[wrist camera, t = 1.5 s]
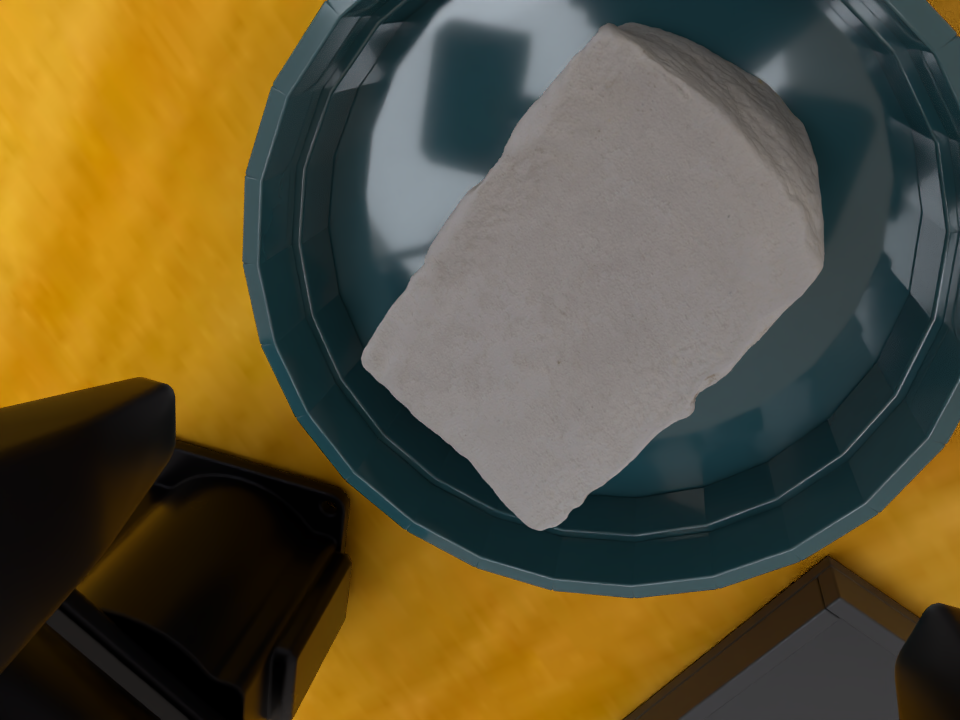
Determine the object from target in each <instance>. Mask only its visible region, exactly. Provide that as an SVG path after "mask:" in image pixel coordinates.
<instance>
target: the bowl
mask: <svg viewBox="0 0 960 720" xmlns="http://www.w3.org/2000/svg"><path fill="white" fill-rule="evenodd" d="M607 23H611V24H614V25H616V26H617V27H618V26H620V25H623V24H625V23H638V24H642V25H646V26H649V27H652V28H660V29H662V30H663V31H666V32H671V33H673V34H676V35H678V36H681V37H684V38H687V39H689V40H690V41H693V42H695V43H696V44H698V45H701V46H704V47H705V48H707V49H708V50H710V51H711V52H712V53H714V54H717V55H718V56H720V57H721V58H723V59H724V60H727V61H729V62H731V63H733V64H734V65H736V66H737V67H739V68H741V69H742V70H744V71H745V72H747V73H749V74H751V75H753V76H755V77H757V78H759V79H761V80H762V81H764V82H765V83H766V84H767V85H769V86H770V87H771V88H772V90H773V91H775V92H776V93H777V94H778V95H779V96H780V97H781V99H782V100H783V102H784V103H785V104H786V106H787V107H788V108H789V109H790V111H791V112H792V113H793V114H794V115H795V116H796V117H797V118H798V119H799V120H800V121H801V122H802V123H803V125H804V127H805V130H806V132H807V134H808V137H809V140H810V142H811V145H812V149H813V153H814V155H815V158H816V162H817V165H818V178H819V187H820V193H821V204H822V205H821V206H822V214H823V220H824V253H825V255H824V264H823V268H822V270H821V272H820V273H819V275H818V276H817V278H816V279H815V281H814V282H813V283H812V284H811V285H810V286H809V287H808V289H807V290H806V291H805V292H804V294H803V295H802V296H801V297H799V298H798V299H797V300H796V301H795V302H794V303H793V304H792V305H791V306H790V307H788V308H787V309H786V310H785V311H784V312H783V313H782V314H781V316H780V317H779V318H778V319H777V320H776V321H775V322H774V323H773V325H772V326H771V327H770V328H769V329H768V331H767V332H766V333H765V334H764V335H763V336H762V337H761V338H760V340H759V341H757V342H756V343H755V344H754V345H753V346H751V347H750V348H749V349H748V350H747V352H746V353H745V354H744V355H743V356H742V358H741V359H740V360H739V361H738V362H737V364H736V365H735V366H734V367H733V369H732V370H731V371H730V372H729V373H728V374H727V375H726V376H724V377H723V378H721V379H720V380H719V381H717V383H715V384H713V385H711V386H709V387H707V388H705V389H704V390H703V391H701V392H700V393H699V394H698V395H697V397H696V398H695V400H696V401H695V409H694V412H693V413H692V414H691V415H690V416H688V417H687V418H684V419H681V420H678V421H677V422H674V423H673V424H671V425H670V426H668V427H667V428H665V429H663V430H662V431H661V432H660V433H658V434H657V435H656V436H655V437H654V438H653V439H652V440H651V441H650V442H649V443H648V444H647V445H646V446H645V447H644V449H643V450H642V451H641V452H640V453H639V454H638V455H637V457H636V458H635V459H634V460H632V461H631V462H630V463H629V464H628V465H627V466H626V467H625V468H624V469H622V470H621V471H620V472H619V473H618V474H617V475H616V476H614V477H613V478H611V479H610V480H609V481H607V482H606V483H605V484H604V485H603V486H601V487H599V488H597V489H596V490H594V491H592V492H590V493H589V494H588V495H587V497H586V499H585V500H584V502H583V504H582V505H580V506H579V507H577V508H574V509H572V511H571V512H570V513H569V514H568V517H567V519H565V520H564V521H563V522H562V523H561V524H559V525H557V526H556V527H552V528H547V529H545V530H542V531H538V530H535V529H532V528H530V527H528V526H527V525H526V524H524V523H523V522H522V521H521V520H520V519H519V518H518V517H517V516H516V515H515V514H514V513H513V512H512V511H511V510H510V509H509V508H508V507H507V506H506V505H505V504H504V503H503V502H502V501H501V500H500V498H499V497H498V496H497V494H496V493H495V492H494V490H493V489H492V488H491V487H490V485H489V484H488V483H487V482H486V481H485V480H484V479H483V478H482V477H481V475H480V474H479V472H478V471H477V470H476V469H475V467H474V466H473V465H472V463H471V462H470V461H469V460H468V459H467V458H465V457H464V456H462V455H460V454H459V453H458V452H457V451H456V450H455V449H454V448H453V447H452V446H451V445H450V444H448V443H447V442H446V441H444V440H443V439H442V438H441V437H440V436H439V435H438V434H436V433H435V432H433V431H432V430H431V429H430V428H428V427H427V426H425V425H424V424H423V423H422V422H420V421H419V420H418V419H417V418H416V417H414V416H413V415H412V414H411V412H410V411H409V409H408V408H407V407H406V406H404V405H403V404H402V403H401V402H399V401H398V400H397V399H396V398H395V397H394V396H393V395H392V394H391V393H390V391H389V390H388V389H387V388H386V387H385V386H384V385H382V384H381V383H379V382H378V381H377V380H376V379H375V378H374V377H373V376H372V374H371V373H369V372H368V371H367V370H366V369H365V368H364V367H363V365H362V361H361V357H362V353H363V351H364V348H365V347H366V346H367V344H368V342H369V340H370V339H371V338H372V336H373V334H374V333H375V331H376V329H377V327H378V326H379V324H380V323H381V322H382V320H383V319H384V317H385V315H386V314H387V312H388V310H389V309H390V308H391V306H392V305H393V304H394V303H395V301H396V300H397V299H398V298H399V296H400V295H401V294H402V293H403V292H404V291H405V290H406V288H407V286H408V283H409V282H410V278H411V277H412V276H413V275H414V274H415V273H416V272H417V271H418V270H419V269H420V268H421V267H422V266H423V265H424V264H425V257H426V255H427V252H428V250H429V248H430V246H431V244H432V242H433V241H434V240H435V238H436V236H437V235H438V233H439V231H440V230H441V228H442V227H443V226H444V224H445V222H446V221H447V220H448V218H449V217H450V215H451V214H452V212H453V211H454V210H455V209H456V207H457V205H458V204H459V203H460V201H461V200H462V199H463V198H464V196H465V195H466V194H467V192H468V191H469V190H471V189H472V188H473V187H475V186H476V185H478V183H480V182H481V181H483V180H484V179H485V177H486V176H487V174H488V172H489V170H490V169H491V168H493V167H494V166H495V164H496V163H497V162H498V160H499V159H500V158H501V156H502V154H503V152H504V148H505V146H506V144H507V142H508V140H509V138H510V137H511V134H512V132H513V130H514V128H515V127H516V125H517V124H518V123H519V121H520V119H521V118H522V117H523V116H524V114H525V113H526V112H527V111H528V109H529V108H530V107H531V106H532V105H533V103H534V102H535V101H537V100H538V99H539V98H540V97H541V96H542V95H543V93H544V92H545V91H546V90H547V88H548V87H549V86H550V85H551V84H552V83H553V81H554V80H555V79H556V78H557V76H558V75H559V74H560V73H561V72H562V71H563V70H564V69H565V67H566V66H567V65H568V63H569V62H570V60H571V59H572V58H573V57H574V56H575V55H576V54H578V53H579V52H580V51H581V50H583V49H584V48H585V47H586V45H587V44H588V43H589V42H590V41H591V39H592V38H593V37H594V36H595V35H596V34H597V33H598V31H599V28H600V27H602V26H603V25H606V24H607ZM242 261H243V268H244V272H245V277H246V281H247V286H248V291H249V295H250V300H251V304H252V309H253V313H254V318H255V322H256V327H257V331H258V336H259V340H260V344H262V345H261V347H262V349H263V351H264V353H265V355H266V357H267V359H268V362H269V364H270V366H271V368H272V370H273V372H274V374H275V376H276V378H277V380H278V382H279V384H280V386H281V388H282V391H283V393H284V395H285V397H286V399H287V401H288V403H289V405H290V407H291V409H292V411H293V413H294V415H295V417H297V420H298V421H299V423H300V424H301V425H302V427H303V428H304V429H305V430H306V432H307V433H308V434H309V435H310V437H311V438H312V439H313V440H314V442H315V443H316V444H317V445H318V447H319V448H320V449H321V451H322V452H323V453H324V454H325V456H326V457H327V458H328V459H329V461H330V462H331V463H332V464H333V466H334V467H335V468H336V469H337V471H338V472H339V473H340V475H341V476H342V477H343V478H344V479H346V481H347V482H348V483H349V484H350V485H351V486H353V487H354V488H355V489H356V490H357V491H359V492H360V493H361V494H362V495H363V496H365V497H366V498H367V499H368V500H369V501H371V502H372V503H373V504H374V505H376V506H377V507H378V508H379V509H380V510H382V511H383V512H384V513H385V514H386V515H388V516H389V517H390V518H391V519H392V520H394V521H395V522H396V523H397V524H398V525H400V526H401V527H402V528H403V529H405V530H406V529H407V531H408V532H409V533H411V534H413V535H415V536H417V537H419V538H421V539H423V540H424V541H426V542H428V543H430V544H432V545H434V546H436V547H438V548H439V549H441V550H443V551H445V552H447V553H449V554H451V555H453V556H454V557H456V558H458V559H460V560H462V561H464V562H466V563H468V564H469V565H471V566H473V567H476V568H478V569H481V570H485V571H488V572H491V573H495V574H498V575H501V576H505V577H508V578H511V579H515V580H518V581H521V582H525V583H528V584H531V585H535V586H538V587H541V588H545V589H548V590H552V589H553V591H560V592H571V593H581V594H592V595H603V596H614V597H625V598H634V597H635V598H642V597H651V596H660V595H669V594H678V593H687V592H696V591H705V590H714V589H717V588H723V587H726V586H729V585H732V584H735V583H738V582H741V581H744V580H747V579H750V578H753V577H756V576H759V575H762V574H765V573H768V572H771V571H774V570H777V569H779V568H782V567H785V566H788V565H791V564H794V563H797V562H800V561H801V560H804V559H806V558H807V557H809V556H811V555H812V554H814V553H815V552H817V551H819V550H820V549H822V548H824V547H825V546H827V545H829V544H830V543H832V542H833V541H835V540H837V539H838V538H840V537H842V536H843V535H845V534H846V533H848V532H850V531H851V530H853V529H855V528H856V527H858V526H860V525H861V524H863V523H864V522H866V521H868V520H869V519H871V518H873V517H874V516H876V515H877V514H878V512H881V511H882V510H883V509H884V508H885V507H886V506H887V505H888V504H889V503H890V502H891V501H892V500H893V499H894V498H895V497H896V496H897V495H898V494H899V493H900V492H901V491H902V490H903V489H904V488H905V487H906V486H907V485H908V484H909V483H910V482H911V481H912V480H913V478H914V477H915V476H916V475H917V474H918V473H919V472H920V471H921V470H922V469H923V468H924V467H925V466H926V465H927V464H928V463H929V462H930V461H931V460H932V459H933V458H934V457H935V456H936V455H937V454H938V453H939V452H940V451H941V450H942V449H943V448H944V447H945V444H947V443H948V441H949V439H950V438H951V436H952V434H953V432H954V430H955V429H956V427H957V425H958V423H959V421H960V37H959V36H957V33H956V31H955V30H954V29H953V28H952V27H951V26H950V25H949V24H948V23H947V21H946V20H945V19H944V18H943V17H942V16H941V15H940V14H939V13H938V12H937V11H936V10H935V9H934V8H933V7H932V6H931V4H930V3H929V2H928V1H927V0H326V1H325V2H324V3H323V5H322V6H321V8H320V10H319V11H318V13H317V14H316V16H315V17H314V19H313V21H312V22H311V24H310V25H309V27H308V28H307V30H306V32H305V33H304V35H303V36H302V38H301V40H300V41H299V43H298V44H297V46H296V47H295V49H294V51H293V52H292V54H291V55H290V57H289V59H288V60H287V62H286V63H285V65H284V66H283V68H282V70H281V71H280V73H279V74H278V76H277V78H276V79H275V81H274V82H273V86H272V87H271V90H270V93H269V96H268V100H267V103H266V107H265V110H264V113H263V117H262V120H261V123H260V127H259V130H258V133H257V137H256V140H255V143H254V147H253V150H252V153H251V157H250V160H249V163H248V167H247V170H246V176H245V193H244V227H243V260H242Z"/></svg>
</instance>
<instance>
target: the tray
mask: <svg viewBox="0 0 960 720" xmlns="http://www.w3.org/2000/svg"><path fill="white" fill-rule="evenodd" d="M919 619H920V618H918V617H917V616H915V615H914V614H913V613H911V612H910V611H908V610H907V609H905V608H904V607H902V606H901V605H899V604H898V603H897V602H895V601H894V600H892V599H891V598H889V597H888V596H886V595H885V594H883V593H882V592H880V591H879V590H878V589H876V588H875V587H873V586H872V585H870V584H869V583H867V582H866V581H864V580H863V579H861V578H860V577H859V576H857V575H856V574H854V573H853V572H851V571H850V570H848V569H847V568H845V567H844V566H842V565H841V564H840V563H838V562H837V561H835V560H834V559H832V558H831V557H829V556H827V557H826V558H825V559H823V560H822V561H821V562H820V563H818V564H817V565H816V566H815V567H813V568H812V569H811V570H810V571H808V572H807V573H806V574H805V575H803V576H802V577H801V578H800V579H798V580H797V581H796V582H795V583H793V584H792V585H791V586H790V587H788V588H787V589H786V590H785V591H783V592H782V593H781V594H780V595H779V596H777V597H776V598H775V599H774V600H772V601H771V602H770V603H769V604H767V605H766V606H765V607H764V608H762V609H761V610H760V611H759V612H757V613H756V614H755V615H754V616H752V617H751V618H750V619H749V620H747V621H746V622H745V623H744V624H742V625H741V626H740V627H739V628H737V629H736V630H735V631H734V632H732V633H731V634H730V635H729V636H727V637H726V638H725V639H724V640H722V641H721V642H720V643H719V644H717V645H716V646H715V647H714V648H712V649H711V650H710V651H709V652H707V653H706V654H705V655H704V656H702V657H701V658H700V659H699V660H697V661H696V662H695V663H694V664H692V665H691V666H690V667H689V668H687V669H686V670H685V671H684V672H682V673H681V674H680V675H679V676H677V677H676V678H675V679H674V680H672V681H671V682H670V683H669V684H667V685H666V686H665V687H664V688H662V689H661V690H660V691H659V692H657V693H656V694H655V695H654V696H653V697H651V698H650V699H649V700H648V701H646V702H645V703H644V704H643V705H641V706H640V707H639V708H638V709H636V710H635V711H634V712H633V713H631V714H630V715H629V716H628V717H626V718H625V719H624V720H899V713H898V704H897V694H896V685H895V664H896V660H897V657H898V654H899V652H900V650H901V649H902V647H903V645H904V644H905V642H906V640H907V639H908V637H909V636H910V634H911V632H912V631H913V629H914V627H915V626H916V624H917V623H918V621H919Z"/></svg>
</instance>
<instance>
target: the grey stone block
mask: <svg viewBox="0 0 960 720" xmlns="http://www.w3.org/2000/svg"><path fill="white" fill-rule="evenodd" d="M821 205H822V204H821V193H820V187H819V178H818V165H817V162H816V158H815V155H814V153H813V149H812V145H811V142H810V140H809V137H808V134H807V132H806V130H805V127H804V125H803V123H802V122H801V121H800V120H799V119H798V118H797V117H796V116H795V115H794V114H793V113H792V112H791V111H790V109H789V108H788V107H787V106H786V104H785V103H784V102H783V100H782V99H781V97H780V96H779V95H778V94H777V93H776V92H775V91H773V90H772V88H771V87H770V86H769V85H767V84H766V83H765V82H764V81H762V80H761V79H759V78H757V77H755V76H753V75H751V74H749V73H747V72H745V71H744V70H742V69H741V68H739V67H737V66H736V65H734V64H733V63H731V62H729V61H727V60H724V59H723V58H721V57H720V56H718V55H717V54H714V53H712V52H711V51H710V50H708V49H707V48H705V47H704V46H701V45H698V44H696V43H695V42H693V41H690V40H689V39H687V38H684V37H681V36H678V35H676V34H673V33H671V32H666V31H663V30H662V29H660V28H652V27H649V26H646V25H642V24H638V23H625V24H623V25H620V26H618V27H617V26H616V25H614V24H611V23H607V24H606V25H603V26H602V27H600V28H599V31H598V33H597V34H596V35H595V36H594V37H593V38H592V39H591V41H590V42H589V43H588V44H587V45H586V47H585V48H584V49H583V50H581V51H580V52H579V53H578V54H576V55H575V56H574V57H573V58H572V59H571V60H570V62H569V63H568V65H567V66H566V67H565V69H564V70H563V71H562V72H561V73H560V74H559V75H558V76H557V78H556V79H555V80H554V81H553V83H552V84H551V85H550V86H549V87H548V88H547V90H546V91H545V92H544V93H543V95H542V96H541V97H540V98H539V99H538V100H537V101H535V102H534V103H533V105H532V106H531V107H530V108H529V109H528V111H527V112H526V113H525V114H524V116H523V117H522V118H521V119H520V121H519V123H518V124H517V125H516V127H515V128H514V130H513V132H512V134H511V137H510V138H509V140H508V142H507V144H506V146H505V148H504V152H503V154H502V156H501V158H500V159H499V160H498V162H497V163H496V164H495V166H494V167H493V168H491V169H490V170H489V172H488V174H487V176H486V177H485V179H484V180H483V181H481V182H480V183H478V185H476V186H475V187H473V188H472V189H471V190H469V191H468V192H467V194H466V195H465V196H464V198H463V199H462V200H461V201H460V203H459V204H458V205H457V207H456V209H455V210H454V211H453V212H452V214H451V215H450V217H449V218H448V220H447V221H446V222H445V224H444V226H443V227H442V228H441V230H440V231H439V233H438V235H437V236H436V238H435V240H434V241H433V242H432V244H431V246H430V248H429V250H428V252H427V255H426V257H425V264H424V265H423V266H422V267H421V268H420V269H419V270H418V271H417V272H416V273H415V274H414V275H413V276H412V277H411V278H410V282H409V283H408V286H407V288H406V290H405V291H404V292H403V293H402V294H401V295H400V296H399V298H398V299H397V300H396V301H395V303H394V304H393V305H392V306H391V308H390V309H389V310H388V312H387V314H386V315H385V317H384V319H383V320H382V322H381V323H380V324H379V326H378V327H377V329H376V331H375V333H374V334H373V336H372V338H371V339H370V340H369V342H368V344H367V346H366V347H365V348H364V351H363V353H362V357H361V361H362V365H363V367H364V368H365V369H366V370H367V371H368V372H369V373H371V374H372V376H373V377H374V378H375V379H376V380H377V381H378V382H379V383H381V384H382V385H384V386H385V387H386V388H387V389H388V390H389V391H390V393H391V394H392V395H393V396H394V397H395V398H396V399H397V400H398V401H399V402H401V403H402V404H403V405H404V406H406V407H407V408H408V409H409V411H410V412H411V414H412V415H413V416H414V417H416V418H417V419H418V420H419V421H420V422H422V423H423V424H424V425H425V426H427V427H428V428H430V429H431V430H432V431H433V432H435V433H436V434H438V435H439V436H440V437H441V438H442V439H443V440H444V441H446V442H447V443H448V444H450V445H451V446H452V447H453V448H454V449H455V450H456V451H457V452H458V453H459V454H460V455H462V456H464V457H465V458H467V459H468V460H469V461H470V462H471V463H472V465H473V466H474V467H475V469H476V470H477V471H478V472H479V474H480V475H481V477H482V478H483V479H484V480H485V481H486V482H487V483H488V484H489V485H490V487H491V488H492V489H493V490H494V492H495V493H496V494H497V496H498V497H499V498H500V500H501V501H502V502H503V503H504V504H505V505H506V506H507V507H508V508H509V509H510V510H511V511H512V512H513V513H514V514H515V515H516V516H517V517H518V518H519V519H520V520H521V521H522V522H523V523H524V524H526V525H527V526H528V527H530V528H532V529H535V530H538V531H542V530H545V529H547V528H552V527H556V526H557V525H559V524H561V523H562V522H563V521H564V520H565V519H567V517H568V514H569V513H570V512H571V511H572V509H574V508H577V507H579V506H580V505H582V504H583V502H584V500H585V499H586V497H587V495H588V494H589V493H590V492H592V491H594V490H596V489H597V488H599V487H601V486H603V485H604V484H605V483H606V482H607V481H609V480H610V479H611V478H613V477H614V476H616V475H617V474H618V473H619V472H620V471H621V470H622V469H624V468H625V467H626V466H627V465H628V464H629V463H630V462H631V461H632V460H634V459H635V458H636V457H637V455H638V454H639V453H640V452H641V451H642V450H643V449H644V447H645V446H646V445H647V444H648V443H649V442H650V441H651V440H652V439H653V438H654V437H655V436H656V435H657V434H658V433H660V432H661V431H662V430H663V429H665V428H667V427H668V426H670V425H671V424H673V423H674V422H677V421H678V420H681V419H684V418H687V417H688V416H690V415H691V414H692V413H693V412H694V409H695V401H696V400H695V398H696V397H697V395H698V394H699V393H700V392H701V391H703V390H704V389H705V388H707V387H709V386H711V385H713V384H715V383H717V381H719V380H720V379H721V378H723V377H724V376H726V375H727V374H728V373H729V372H730V371H731V370H732V369H733V367H734V366H735V365H736V364H737V362H738V361H739V360H740V359H741V358H742V356H743V355H744V354H745V353H746V352H747V350H748V349H749V348H750V347H751V346H753V345H754V344H755V343H756V342H757V341H759V340H760V338H761V337H762V336H763V335H764V334H765V333H766V332H767V331H768V329H769V328H770V327H771V326H772V325H773V323H774V322H775V321H776V320H777V319H778V318H779V317H780V316H781V314H782V313H783V312H784V311H785V310H786V309H787V308H788V307H790V306H791V305H792V304H793V303H794V302H795V301H796V300H797V299H798V298H799V297H801V296H802V295H803V294H804V292H805V291H806V290H807V289H808V287H809V286H810V285H811V284H812V283H813V282H814V281H815V279H816V278H817V276H818V275H819V273H820V272H821V270H822V268H823V264H824V255H825V253H824V220H823V214H822V206H821Z"/></svg>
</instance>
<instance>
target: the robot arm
mask: <svg viewBox="0 0 960 720" xmlns="http://www.w3.org/2000/svg"><path fill="white" fill-rule="evenodd" d="M327 501H331V502H333V503H334V504H335V505H336V507H333V506H331V505H329V503H328V502H327ZM349 509H350V500H349V498H348V496H347V494H346V493H345V492H344V491H343V490H342V489H340V488H338V487H335V486H332V485H328V484H325V483H322V482H318V481H315V480H311V479H308V478H304V477H301V476H298V475H294V474H291V473H287V472H284V471H281V470H277V469H274V468H270V467H267V466H264V465H260V464H257V463H253V462H250V461H246V460H243V459H240V458H236V457H233V456H229V455H226V454H223V453H219V452H216V451H212V450H209V449H205V448H202V447H199V446H195V445H192V444H188V443H185V442H182V441H178V440H176V416H175V393H174V391H173V389H172V388H171V387H170V386H169V385H168V384H164V383H161V382H157V381H154V380H150V379H147V378H143V377H137V378H132V379H127V380H123V381H119V382H114V383H110V384H105V385H101V386H97V387H92V388H88V389H83V390H79V391H75V392H70V393H66V394H61V395H57V396H52V397H48V398H44V399H39V400H35V401H30V402H26V403H22V404H17V405H13V406H8V407H4V408H0V720H292V719H293V717H294V715H295V714H296V712H297V710H298V708H299V706H300V704H301V702H302V700H303V698H304V696H305V695H306V693H307V691H308V689H309V687H310V685H311V683H312V681H313V679H314V677H315V676H316V674H317V672H318V670H319V668H320V666H321V664H322V662H323V660H324V658H325V657H326V655H327V653H328V651H329V649H330V647H331V645H332V643H333V641H334V639H335V638H336V636H337V634H338V632H339V630H340V628H341V626H342V624H343V622H344V620H345V617H346V609H347V601H348V593H349V586H350V578H351V570H352V562H351V559H350V557H349V555H347V554H344V551H345V543H346V534H347V526H348V518H349ZM895 685H896V694H897V704H898V713H899V720H960V608H956V607H952V606H949V605H945V604H942V603H936V604H932V605H931V606H929V607H928V608H927V609H926V610H925V611H924V613H923V614H922V616H921V618H920V619H919V621H918V623H917V624H916V626H915V627H914V629H913V631H912V632H911V634H910V636H909V637H908V639H907V640H906V642H905V644H904V645H903V647H902V649H901V650H900V652H899V654H898V657H897V660H896V664H895Z"/></svg>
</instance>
